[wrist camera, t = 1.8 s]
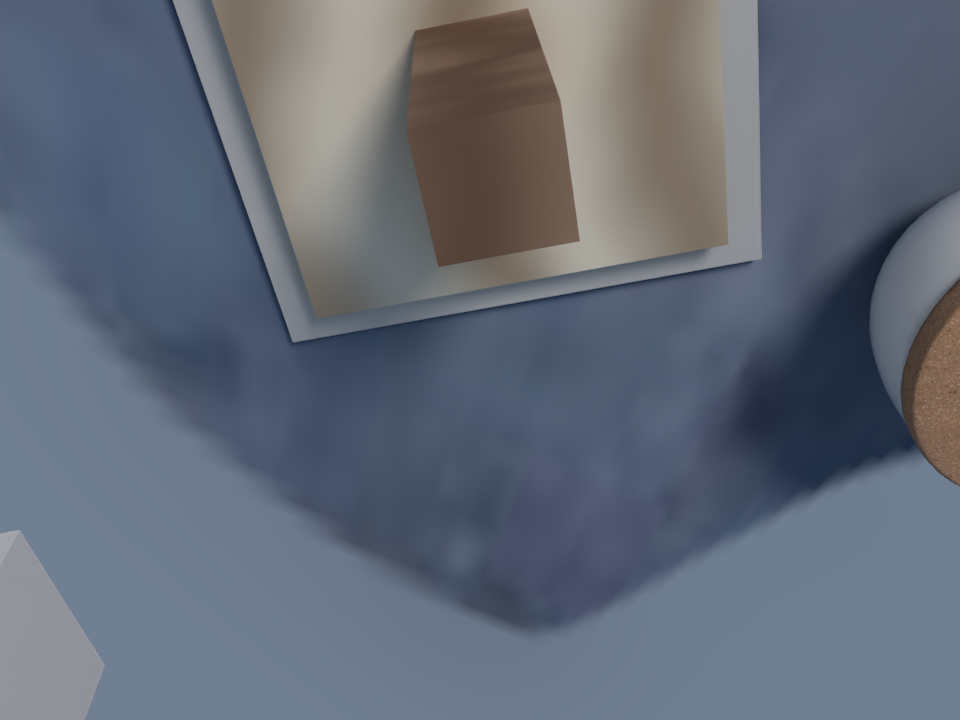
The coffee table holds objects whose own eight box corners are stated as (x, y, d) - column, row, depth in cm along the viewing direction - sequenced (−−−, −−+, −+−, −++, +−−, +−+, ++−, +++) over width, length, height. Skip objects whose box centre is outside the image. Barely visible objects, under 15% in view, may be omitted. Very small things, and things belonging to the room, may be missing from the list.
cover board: (698, -258, 25) (828, -265, 17) (720, 229, 34) (815, 391, 25) (175, -144, 26) (50, -96, 18) (320, 302, 35) (280, 480, 26)
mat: (746, -336, 25) (751, -337, 24) (757, 252, 35) (761, 258, 34) (110, -194, 26) (105, -193, 26) (294, 335, 36) (292, 342, 36)
